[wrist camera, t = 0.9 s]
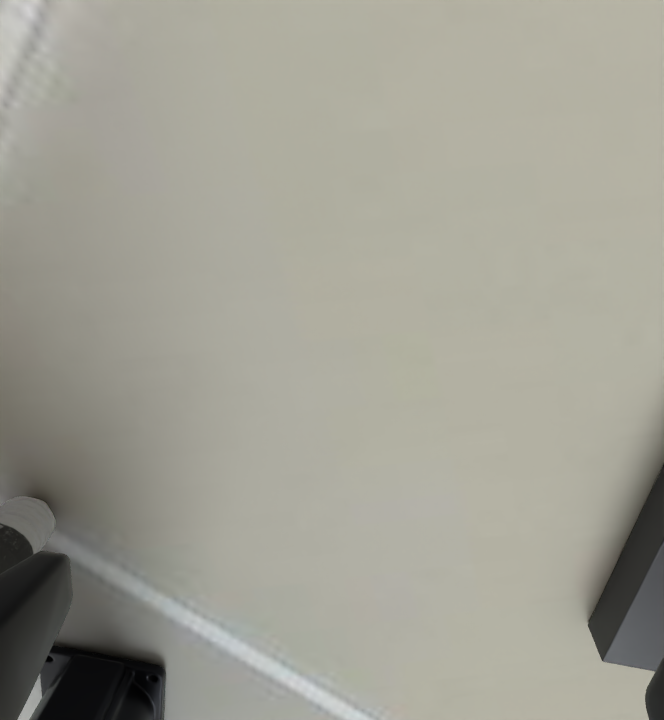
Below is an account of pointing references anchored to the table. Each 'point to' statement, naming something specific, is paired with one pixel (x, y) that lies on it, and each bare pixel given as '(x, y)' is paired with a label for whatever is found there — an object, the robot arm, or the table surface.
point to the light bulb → (23, 529)
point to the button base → (636, 594)
